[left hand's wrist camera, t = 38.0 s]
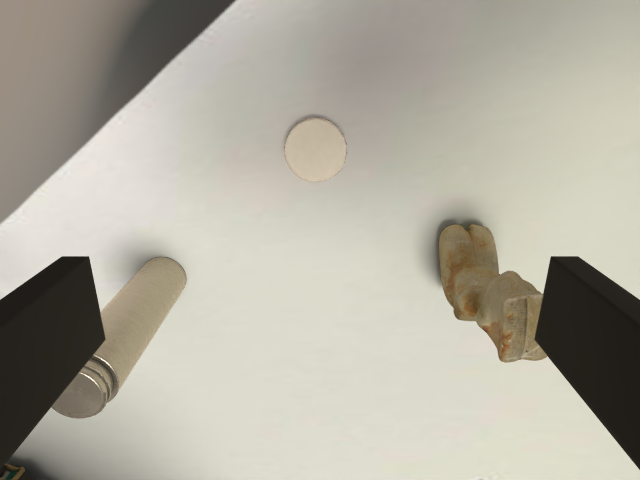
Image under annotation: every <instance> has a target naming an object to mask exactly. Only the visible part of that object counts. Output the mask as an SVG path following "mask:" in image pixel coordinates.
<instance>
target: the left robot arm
mask: <svg viewBox="0 0 640 480" xmlns="http://www.w3.org/2000/svg"><path fill="white" fill-rule="evenodd" d="M105 340H106V338H105V333H104V328H103V323H102V319H101V314H100V309H99V304H98V299H97V294H96V289H95V284H94V279H93V274H92V269H91V264H90V259H89V257H61V258H59V259H58V260H56V261H55V262H54V263H52V264H51V265H49V266H48V267H46V268H45V269H44V270H42V271H41V272H39V273H38V274H36V275H35V276H34V277H32V278H31V279H29V280H28V281H26V282H25V283H24V284H22V285H21V286H19V287H18V288H17V289H15V290H14V291H12V292H11V293H9V294H8V295H7V296H5V297H4V298H2V299H1V300H0V469H1V468H2V467H3V466H4V464H5V463H6V462H7V461H8V460H9V458H10V457H11V456H12V455H13V453H14V452H15V451H16V450H17V448H18V447H19V446H20V445H21V444H22V442H23V441H24V440H25V439H26V437H27V436H28V435H29V434H30V432H31V431H32V430H33V429H34V427H35V426H36V425H37V424H38V423H39V421H40V420H41V419H42V418H43V416H44V415H45V414H46V413H47V411H48V410H49V409H50V408H51V406H52V405H53V404H54V403H55V402H56V400H57V399H58V398H59V397H60V395H61V394H62V393H63V392H64V390H65V389H66V388H67V387H68V386H69V384H70V383H71V382H72V381H73V379H74V378H75V377H76V376H77V374H78V373H79V372H80V371H81V369H82V368H83V367H84V366H85V365H86V363H87V362H88V361H89V360H90V358H91V357H92V356H93V355H94V353H95V352H96V351H97V350H98V348H99V347H100V346H101V345H102V344H103V342H104V341H105ZM534 340H535V341H536V342H537V344H538V345H539V346H540V347H541V348H542V350H543V351H544V352H545V353H546V355H547V356H548V357H549V358H550V360H551V361H552V362H553V363H554V365H555V366H556V367H557V368H558V369H559V371H560V372H561V373H562V374H563V376H564V377H565V378H566V379H567V381H568V382H569V383H570V384H571V386H572V387H573V388H574V389H575V390H576V392H577V393H578V394H579V395H580V397H581V398H582V399H583V400H584V402H585V403H586V404H587V405H588V406H589V408H590V409H591V410H592V411H593V413H594V414H595V415H596V416H597V418H598V419H599V420H600V421H601V423H602V424H603V425H604V426H605V427H606V429H607V430H608V431H609V432H610V434H611V435H612V436H613V437H614V439H615V440H616V441H617V442H618V444H619V445H620V446H621V447H622V448H623V450H624V451H625V452H626V453H627V455H628V456H629V457H630V458H631V460H632V461H633V462H634V463H635V464H636V466H637V467H638V468H639V469H640V300H639V299H638V298H636V297H635V296H633V295H632V294H631V293H629V292H628V291H626V290H625V289H623V288H622V287H621V286H619V285H618V284H616V283H615V282H614V281H612V280H611V279H609V278H608V277H606V276H605V275H604V274H602V273H601V272H599V271H598V270H596V269H595V268H594V267H592V266H591V265H589V264H588V263H586V262H585V261H584V260H582V259H581V258H579V257H551V259H550V264H549V269H548V274H547V279H546V284H545V289H544V294H543V299H542V304H541V309H540V314H539V319H538V323H537V328H536V333H535V338H534Z"/></svg>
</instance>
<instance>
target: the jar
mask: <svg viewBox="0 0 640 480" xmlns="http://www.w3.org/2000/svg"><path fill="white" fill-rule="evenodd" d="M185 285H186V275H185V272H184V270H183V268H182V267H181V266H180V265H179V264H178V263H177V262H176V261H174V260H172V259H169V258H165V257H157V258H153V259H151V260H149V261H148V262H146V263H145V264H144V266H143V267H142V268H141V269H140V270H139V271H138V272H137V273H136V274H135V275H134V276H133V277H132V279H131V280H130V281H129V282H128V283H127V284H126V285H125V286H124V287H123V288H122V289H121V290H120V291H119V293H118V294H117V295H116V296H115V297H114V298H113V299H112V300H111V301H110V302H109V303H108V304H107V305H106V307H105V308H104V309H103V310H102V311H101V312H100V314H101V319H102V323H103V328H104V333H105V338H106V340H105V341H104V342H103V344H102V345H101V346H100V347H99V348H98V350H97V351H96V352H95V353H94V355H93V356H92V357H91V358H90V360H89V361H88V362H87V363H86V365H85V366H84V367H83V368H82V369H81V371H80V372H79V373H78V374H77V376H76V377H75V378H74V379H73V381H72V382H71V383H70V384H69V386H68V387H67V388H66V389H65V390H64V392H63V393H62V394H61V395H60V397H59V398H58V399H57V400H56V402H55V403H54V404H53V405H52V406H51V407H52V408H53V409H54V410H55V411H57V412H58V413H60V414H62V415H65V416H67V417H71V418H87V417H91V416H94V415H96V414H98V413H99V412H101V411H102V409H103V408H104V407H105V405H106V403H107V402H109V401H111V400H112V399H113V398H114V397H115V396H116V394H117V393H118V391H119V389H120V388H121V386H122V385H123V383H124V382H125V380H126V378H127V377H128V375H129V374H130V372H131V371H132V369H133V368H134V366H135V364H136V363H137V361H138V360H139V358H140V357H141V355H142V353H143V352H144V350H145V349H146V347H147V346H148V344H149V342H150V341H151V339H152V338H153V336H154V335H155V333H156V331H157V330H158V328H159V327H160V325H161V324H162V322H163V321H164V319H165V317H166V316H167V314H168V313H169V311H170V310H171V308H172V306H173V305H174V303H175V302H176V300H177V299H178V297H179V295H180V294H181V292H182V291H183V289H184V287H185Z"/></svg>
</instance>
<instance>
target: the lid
mask: <svg viewBox="0 0 640 480" xmlns="http://www.w3.org/2000/svg"><path fill="white" fill-rule="evenodd" d="M286 140H287V141H286V144H285V147H284V148H285V157H286V161H287V163H288V166H289V167H290V169H291V170H292V171H293V172H294V173H295V174H296V175H297V176H299V177H300V178H302V179H304V180H307V181H312V182H320V181H324V180H327V179H330V178H331V177H333V176H334V175H336V174H337V173H338V172H339V170H341V168H342V166H343V164H344V163H345V159H346V154H347V151H346V145H347V144H346V142H345V140H344V135H343V134H342V133H341V131H340V130H339V127H337V126H335V125H334V124H333V123H332V121H328V120H325V119H324V118H315V117H313V118H310V119H305V120H304V121H302V122H300V123H297V125H296V126H295V127H294V128H293V129H291V131H290V134H289V136H288V137H287V138H286Z"/></svg>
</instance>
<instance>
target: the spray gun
mask: <svg viewBox="0 0 640 480" xmlns="http://www.w3.org/2000/svg"><path fill="white" fill-rule="evenodd" d="M10 469H11V470H12V471H11V472H10ZM15 471H17V472H18V473H16V472H15ZM24 471H25V469H24V468H23V467H20V468H18V467H15V466H12V465H9V464H6V463H5V464H4V466H3V467H2V468H1V469H0V480H33V479H32V478H31V477H30V476H29V475H28V474H27V473H26V472H24Z"/></svg>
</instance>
